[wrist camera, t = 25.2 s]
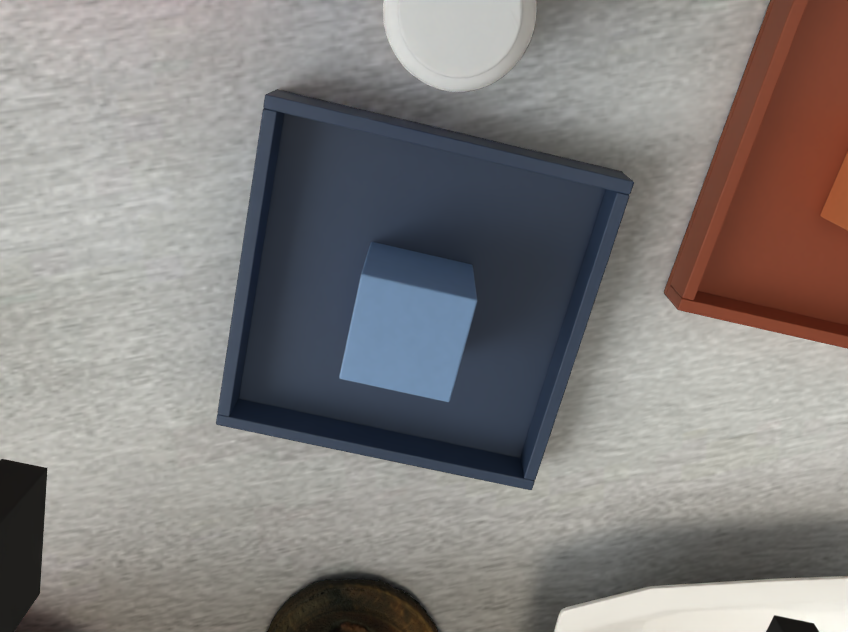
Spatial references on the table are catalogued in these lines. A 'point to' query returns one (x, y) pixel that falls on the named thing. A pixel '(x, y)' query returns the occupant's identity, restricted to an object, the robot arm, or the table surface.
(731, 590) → the bowl
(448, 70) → the pill bottle
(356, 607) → the owl figurine
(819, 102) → the clay tray
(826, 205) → the terracotta block
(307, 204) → the slate tray
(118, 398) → the table surface
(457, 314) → the blue block
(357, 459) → the table surface
